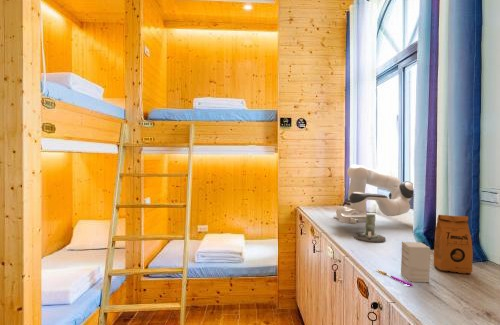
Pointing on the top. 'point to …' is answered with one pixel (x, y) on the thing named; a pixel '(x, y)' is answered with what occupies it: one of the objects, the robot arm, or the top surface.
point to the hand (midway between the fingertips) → (364, 221)
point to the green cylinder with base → (370, 226)
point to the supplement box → (415, 261)
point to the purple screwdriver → (397, 278)
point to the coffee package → (453, 244)
